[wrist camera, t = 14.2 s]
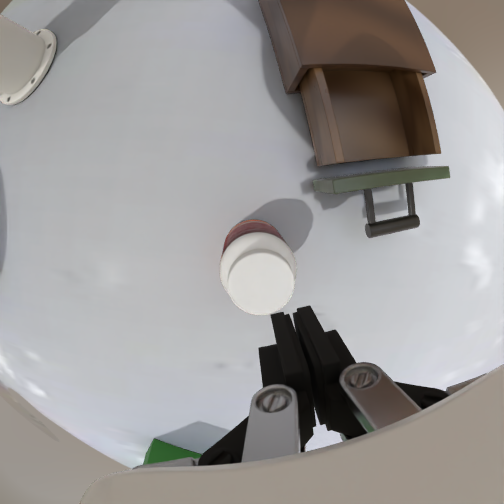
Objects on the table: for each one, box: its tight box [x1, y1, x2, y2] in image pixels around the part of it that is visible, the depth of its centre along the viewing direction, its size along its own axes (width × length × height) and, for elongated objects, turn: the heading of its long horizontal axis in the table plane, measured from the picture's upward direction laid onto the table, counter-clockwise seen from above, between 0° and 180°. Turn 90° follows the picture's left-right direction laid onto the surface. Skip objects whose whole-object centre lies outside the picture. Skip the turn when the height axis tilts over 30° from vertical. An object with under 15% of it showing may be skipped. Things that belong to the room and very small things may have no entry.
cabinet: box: [258, 0, 436, 94], centre depth 20 cm, size 15×15×8 cm
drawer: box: [299, 67, 450, 238], centre depth 23 cm, size 18×13×6 cm
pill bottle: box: [220, 219, 297, 315], centre depth 24 cm, size 6×6×11 cm
